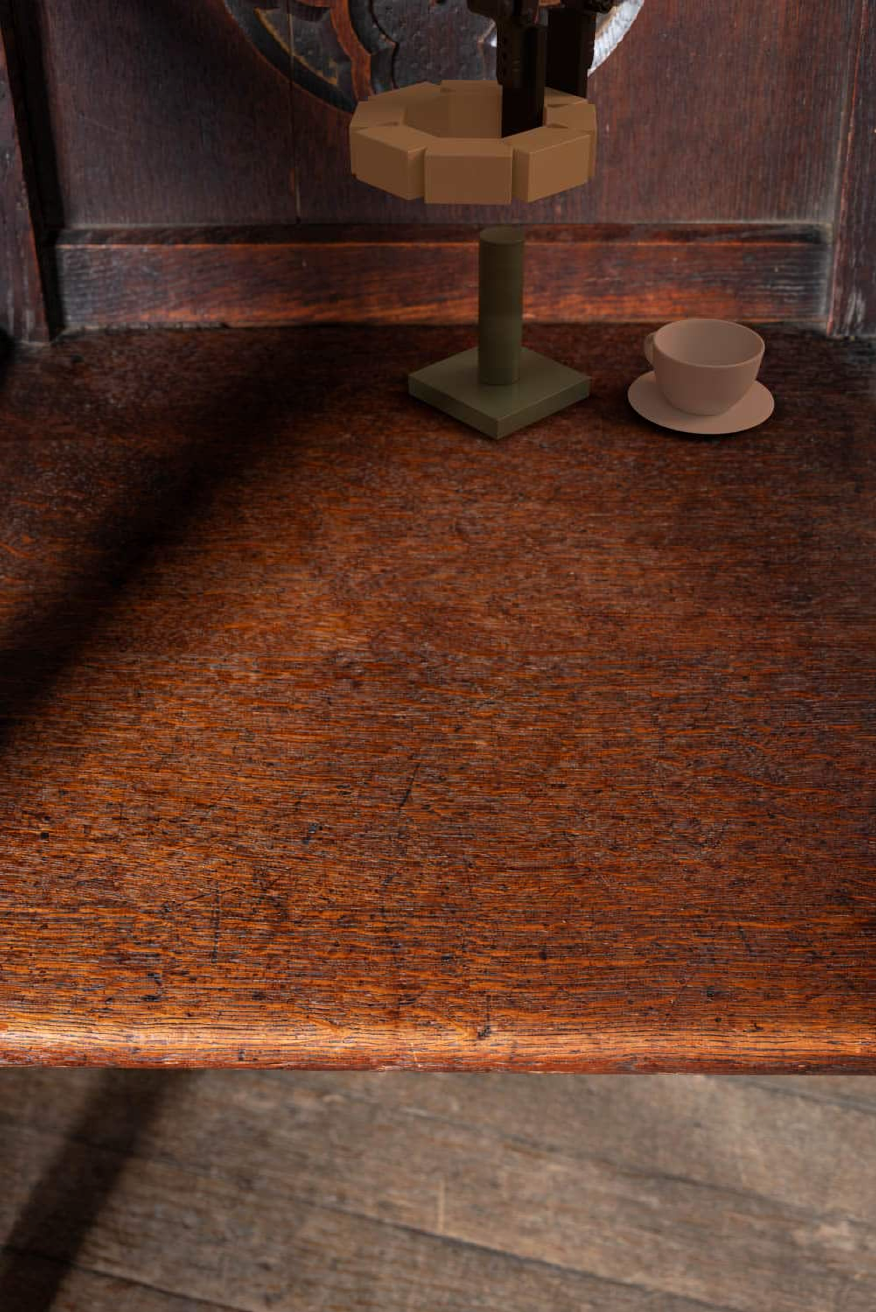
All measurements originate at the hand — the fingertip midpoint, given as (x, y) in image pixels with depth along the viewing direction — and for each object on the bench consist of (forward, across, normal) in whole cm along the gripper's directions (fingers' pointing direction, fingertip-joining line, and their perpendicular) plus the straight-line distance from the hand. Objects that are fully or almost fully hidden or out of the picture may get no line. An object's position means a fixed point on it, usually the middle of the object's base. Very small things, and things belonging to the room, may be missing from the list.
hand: (542, 136), depth 75 cm
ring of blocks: (0, -5, 0) cm, 5 cm away
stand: (+19, 0, +4) cm, 19 cm away
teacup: (+19, +10, -7) cm, 22 cm away
